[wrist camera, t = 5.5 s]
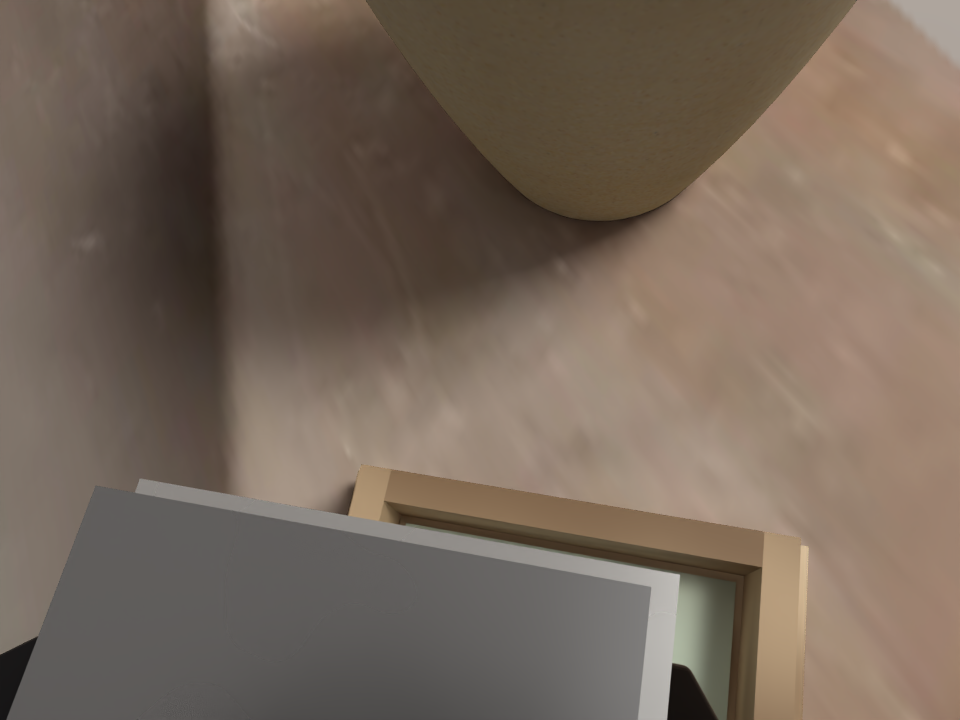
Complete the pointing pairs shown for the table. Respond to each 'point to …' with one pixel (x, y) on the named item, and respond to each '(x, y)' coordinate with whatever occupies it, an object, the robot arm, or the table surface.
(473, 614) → the grey lidded container
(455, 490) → the wooden tray
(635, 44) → the plant pot
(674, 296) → the table surface
